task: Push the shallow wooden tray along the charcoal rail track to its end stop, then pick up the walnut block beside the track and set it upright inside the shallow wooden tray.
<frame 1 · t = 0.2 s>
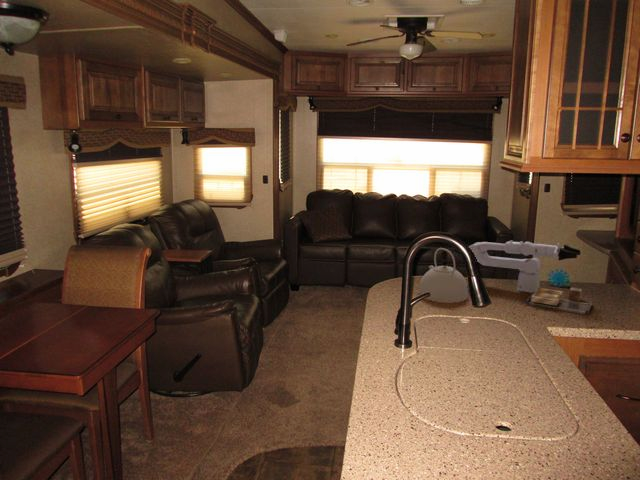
hand: (578, 254, 236), 21 cm above the countertop, tool horizontal, fingers open, 7 cm apart
gear: (558, 285, 261), on the countertop
rail base: (558, 304, 231), on the countertop
kettle: (441, 294, 245), on the countertop
part block: (574, 299, 238), on the countertop
shallow wooden tray: (547, 297, 233), point 3 cm above the countertop, slide at 0.0 cm
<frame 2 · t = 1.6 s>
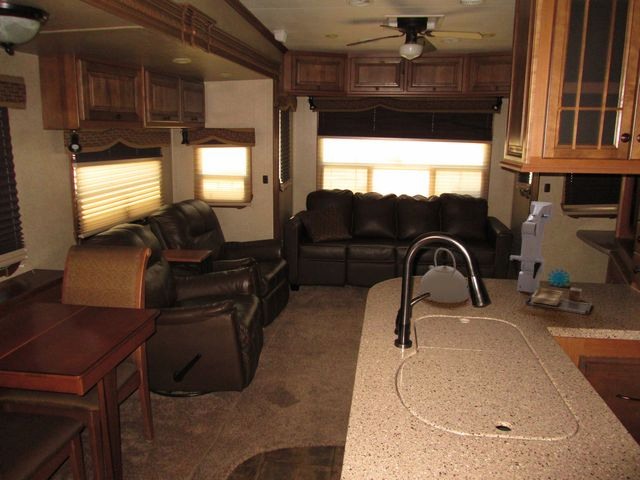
hand: (525, 277, 237), 10 cm above the countertop, tool pointing down, fingers open, 7 cm apart
nothing on the countertop moved.
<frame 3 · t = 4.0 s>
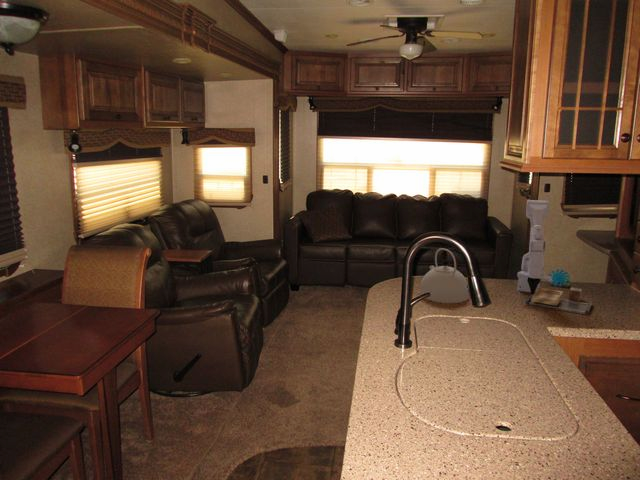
hand: (532, 294, 236), 3 cm above the countertop, tool pointing down, fingers closed
shallow wooden tray: (547, 297, 233), point 3 cm above the countertop, slide at 0.1 cm, touching gripper
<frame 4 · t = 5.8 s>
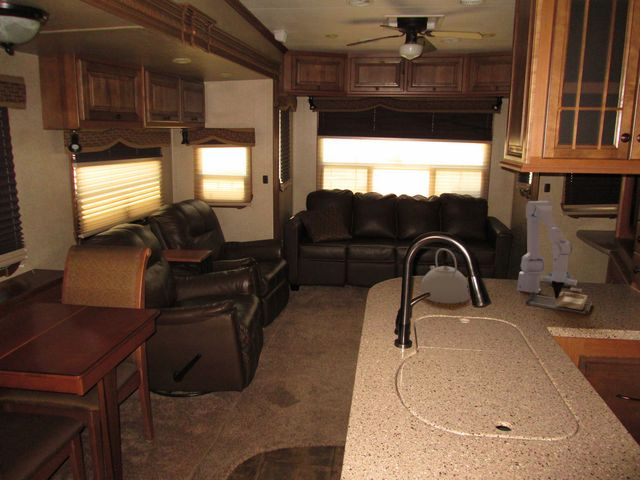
hand: (556, 298, 231), 3 cm above the countertop, tool pointing down, fingers closed
shallow wooden tray: (571, 301, 228), point 3 cm above the countertop, slide at 10.0 cm, touching gripper
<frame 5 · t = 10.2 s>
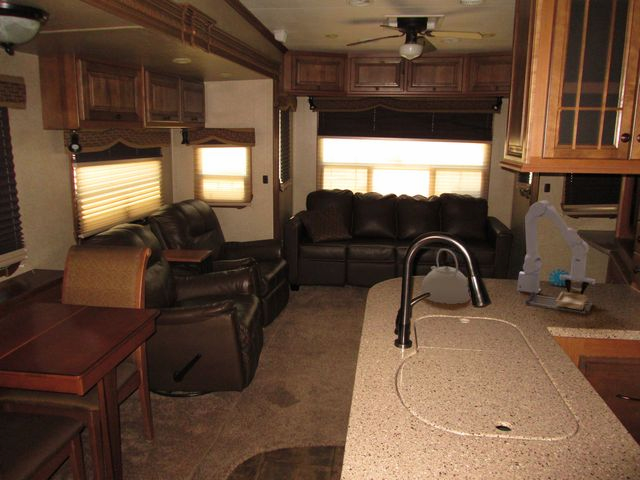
hand: (575, 296, 238), 1 cm above the countertop, tool pointing down, fingers closed on part block, 4 cm apart
part block: (574, 299, 238), on the countertop, touching gripper
shallow wooden tray: (571, 301, 228), point 3 cm above the countertop, slide at 10.0 cm
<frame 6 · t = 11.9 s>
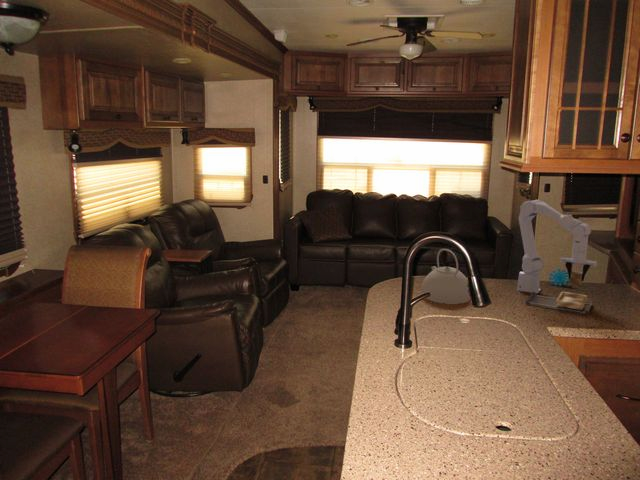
hand: (576, 279, 233), 10 cm above the countertop, tool pointing down, fingers closed on part block, 4 cm apart
part block: (575, 283, 233), point 9 cm above the countertop, touching gripper
when the fingers open (5 cm above the countertop, at t = 13.8 s): part block stays where it is, resting on shallow wooden tray.
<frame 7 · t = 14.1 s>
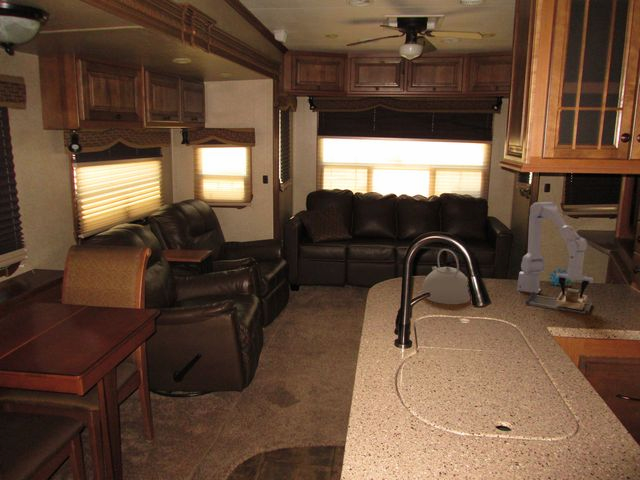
hand: (572, 295, 227), 5 cm above the countertop, tool pointing down, fingers open, 6 cm apart
part block: (571, 300, 228), point 3 cm above the countertop, touching shallow wooden tray
shallow wooden tray: (571, 301, 228), point 3 cm above the countertop, slide at 10.0 cm, touching part block
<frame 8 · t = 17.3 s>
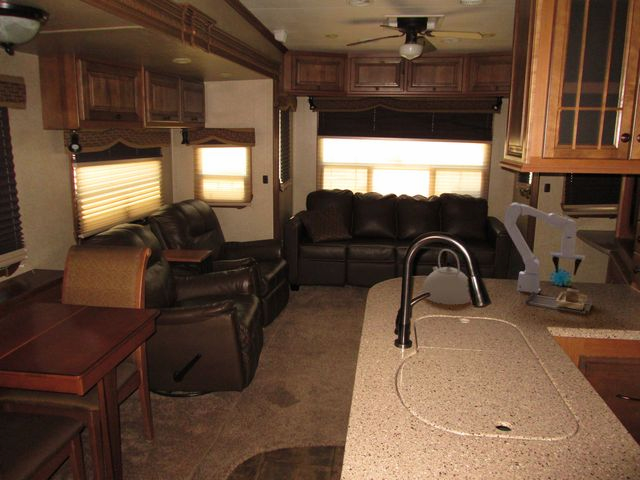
hand: (565, 273, 243), 10 cm above the countertop, tool pointing down, fingers open, 7 cm apart
at the end: shallow wooden tray slide at 10.0 cm; part block inside the target area (0.3 cm from its centre), point 2.6 cm above the countertop; part block tilted 0° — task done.
